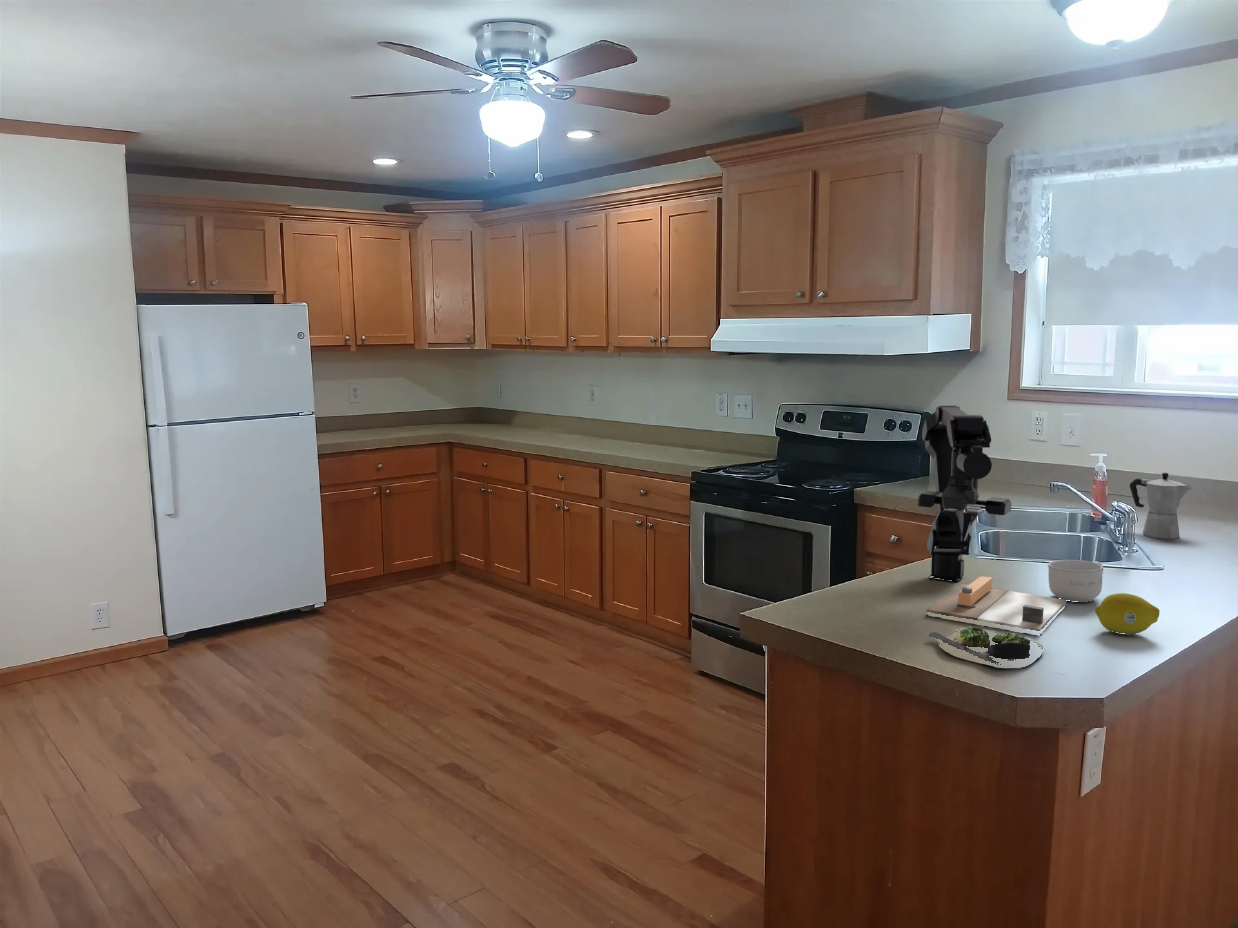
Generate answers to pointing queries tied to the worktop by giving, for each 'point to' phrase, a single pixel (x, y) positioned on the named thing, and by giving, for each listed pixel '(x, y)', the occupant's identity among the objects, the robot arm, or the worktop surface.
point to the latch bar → (975, 591)
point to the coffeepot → (1161, 506)
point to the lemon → (1126, 613)
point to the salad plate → (977, 637)
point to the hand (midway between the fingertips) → (962, 540)
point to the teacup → (1075, 579)
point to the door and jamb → (1002, 608)
